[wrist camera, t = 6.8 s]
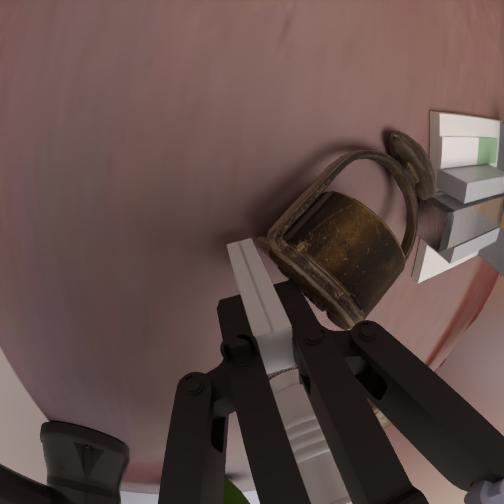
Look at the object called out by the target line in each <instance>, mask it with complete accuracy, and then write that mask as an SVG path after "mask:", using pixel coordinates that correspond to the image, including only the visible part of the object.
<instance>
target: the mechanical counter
mask: <svg viewBox="0 0 504 504" xmlns="http://www.w3.org/2000/svg"><path fill="white" fill-rule="evenodd" d="M389 150H390V153H391V156H392V157H391V156H389V155H388V154H385V153H382V152H379V151H375V150H358V151H352V152H350V153H347V154H345V155H343V156H341V157H340V158H339V159H337V160H336V161H335V162H333V163H332V164H331V165H329V166H328V167H327V168H326V169H325V170H324V172H323V173H322V174H321V175H320V176H319V177H318V178H317V179H316V180H315V182H314V183H313V184H312V185H311V186H310V187H309V188H308V189H307V190H306V191H305V192H304V193H303V194H302V195H301V196H300V197H299V198H298V199H297V200H296V201H295V202H294V203H293V204H292V205H291V206H290V207H289V208H288V209H287V210H286V212H285V213H284V214H283V215H282V216H281V217H280V218H279V219H278V220H277V221H276V222H275V223H274V224H273V226H272V227H271V228H270V229H269V230H268V234H267V237H265V236H260V237H258V238H257V241H256V243H257V244H258V246H259V247H260V248H261V249H262V250H263V251H264V252H265V253H266V254H267V255H268V256H269V257H270V258H271V259H272V260H273V262H274V263H275V264H276V265H277V266H278V269H279V270H280V271H281V273H282V274H283V275H284V276H286V277H287V278H288V279H289V280H291V281H292V282H294V283H295V284H297V285H298V286H299V288H300V290H301V291H302V292H303V294H304V295H305V296H306V297H307V298H309V300H310V301H311V302H312V303H313V304H315V306H316V307H317V308H318V309H320V310H321V311H322V312H323V311H324V310H325V311H326V312H327V313H326V314H327V317H328V318H329V320H330V321H332V322H333V323H334V324H335V325H336V326H338V327H340V328H341V329H344V330H347V329H351V330H352V327H353V326H354V325H355V324H356V323H358V322H360V321H364V320H365V318H366V317H367V315H368V314H369V313H370V312H371V311H372V309H373V308H374V307H375V306H376V305H377V303H378V302H379V301H380V300H381V298H382V297H383V296H384V294H385V293H386V292H387V291H388V289H389V288H390V287H391V286H392V284H393V283H394V282H395V280H396V279H397V278H398V276H399V275H400V274H401V272H402V271H403V270H404V266H405V263H406V261H407V260H408V258H409V255H410V253H411V251H412V249H413V245H414V242H415V238H416V234H417V229H418V222H419V210H418V202H417V197H416V196H418V197H419V198H420V199H422V200H427V199H430V197H431V196H432V195H433V194H434V189H435V174H434V170H433V166H432V163H431V161H430V159H429V157H428V156H427V154H426V152H425V151H424V149H423V148H422V146H421V145H420V144H418V143H417V142H416V141H415V140H413V139H412V138H411V137H409V136H408V135H406V134H404V133H401V132H399V131H398V132H393V133H392V134H391V135H390V139H389ZM357 159H370V160H374V161H377V162H378V163H380V164H382V165H384V166H385V167H386V168H387V169H388V170H389V171H390V172H391V173H392V174H393V176H394V178H395V180H396V182H397V184H398V186H399V187H400V189H401V191H402V193H403V195H404V199H405V202H406V210H407V224H406V230H405V234H404V238H403V241H402V245H400V244H399V242H398V240H397V239H396V237H395V236H394V234H393V233H392V231H391V230H390V229H389V227H388V226H387V225H386V224H385V223H384V222H383V221H382V220H381V219H380V218H379V217H378V216H377V215H376V214H375V213H374V212H373V211H372V210H370V209H369V208H368V207H366V206H365V205H363V204H362V203H361V202H359V201H358V200H356V199H354V198H351V197H349V196H346V195H344V194H342V193H338V192H334V191H331V192H325V193H322V192H323V191H324V190H325V188H326V187H327V186H328V185H329V184H330V183H331V182H332V181H333V180H334V179H335V177H336V176H337V175H338V174H339V173H340V172H341V171H342V170H343V169H344V168H345V167H346V166H347V165H348V164H350V163H351V162H352V161H354V160H357ZM321 193H322V194H321ZM320 194H321V195H320ZM319 195H320V196H319Z"/></svg>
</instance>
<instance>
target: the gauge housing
mask: <svg viewBox="0 0 504 504" xmlns="http://www.w3.org/2000/svg"><path fill="white" fill-rule="evenodd" d="M429 159H430V161H431V163H432V166H433V170H434V174H435V189H434V194H435V193H439V192H445V193H447V194H449V195H450V196H452V197H454V198H456V199H457V200H459V201H461V202H462V203H464V204H465V203H468V202H472V201H475V200H479V199H482V198H486V197H489V196H493V195H496V194H500V193H504V122H503V121H500V120H496V119H490V118H484V117H478V116H472V115H464V114H456V113H447V112H436V111H430V153H429ZM476 255H479V256H480V257H482V258H483V259H484V260H485V261H486V262H488V263H489V264H490V265H491V266H492V267H494V268H495V269H496V270H497V271H498V272H499V273H500V274H501V275H503V276H504V229H503V228H502V227H500V226H498V227H496V228H494V229H491V230H489V231H487V232H485V233H483V234H480V235H478V236H476V237H474V238H472V239H469V240H467V241H465V242H462V243H460V244H458V245H455V246H453V247H451V248H448V249H446V250H443V251H441V252H437V251H436V250H435V249H434V248H433V247H431V246H430V245H429V244H428V243H426V242H425V241H424V240H423V239H421V238H420V241H419V246H418V251H417V256H416V261H415V265H414V270H413V274H412V278H413V279H414V280H415V281H416V282H417V283H420V282H422V281H424V280H426V279H429V278H431V277H433V276H435V275H437V274H439V273H442V272H444V271H446V270H448V269H450V268H452V267H454V266H456V265H458V264H460V263H462V262H464V261H466V260H468V259H470V258H472V257H474V256H476Z"/></svg>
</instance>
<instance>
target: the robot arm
mask: <svg viewBox="0 0 504 504" xmlns="http://www.w3.org/2000/svg"><path fill="white" fill-rule="evenodd" d="M226 245H227V249H228V253H229V257H230V261H231V265H232V269H233V273H234V277H235V281H236V284H237V288H238V291H239V295H236V296H232V297H229V298H225V299H221V300H219V303H218V306H217V312H218V317H219V323H220V328H221V333H222V338H223V342H222V343H221V348H220V351H221V353H222V356H223V358H224V359H223V361H222V363H221V364H220V365H219V366H218V367H216V368H215V369H213V370H212V371H210V372H208V373H206V374H204V373H201V372H192V373H189V374H187V375H185V376H184V377H183V378H182V379H181V380H180V381H179V383H178V386H177V390H176V395H175V400H174V405H173V411H172V416H171V422H170V427H169V433H168V439H167V445H166V451H165V457H164V464H163V470H162V477H161V484H160V492H159V500H158V504H223V497H224V480H225V463H226V448H227V432H228V418H229V414H231V413H232V412H234V411H236V412H237V417H238V421H239V425H240V429H241V434H242V438H243V442H244V446H245V450H246V454H247V458H248V461H249V465H250V469H251V473H252V476H253V480H254V484H255V487H256V491H257V494H258V498H259V501H260V504H311V502H310V499H309V496H308V493H307V491H306V488H305V485H304V482H303V480H302V477H301V474H300V471H299V468H298V465H297V462H296V460H295V457H294V454H293V451H292V448H291V445H290V442H289V439H288V436H287V433H286V430H285V428H284V425H283V422H282V419H281V416H280V413H279V410H278V407H277V404H276V400H275V397H274V394H273V391H272V388H271V385H270V382H269V379H268V376H267V374H270V373H273V372H277V371H280V370H283V369H287V368H290V367H293V366H295V363H296V365H297V368H298V371H299V383H300V385H301V384H303V387H304V389H305V392H306V394H307V396H308V399H309V401H310V404H311V406H312V408H313V411H314V413H315V416H316V418H317V420H318V423H319V425H320V427H321V430H322V432H323V435H324V437H325V439H326V442H327V444H328V447H329V449H330V451H331V454H332V456H333V458H334V461H335V463H336V466H337V468H338V470H339V473H340V475H341V477H342V480H343V482H344V485H345V487H346V489H347V492H348V494H349V496H350V499H351V501H352V503H353V504H429V503H428V501H427V499H426V497H425V496H424V494H423V493H422V492H421V491H420V490H418V489H417V488H415V487H414V486H413V485H412V484H411V482H410V481H409V479H408V476H407V475H406V472H405V471H404V469H403V466H402V465H401V463H400V461H399V459H398V457H397V455H396V453H395V451H394V449H393V447H392V445H391V443H390V441H389V439H388V437H387V436H386V433H385V432H384V430H383V428H382V426H381V424H380V422H379V420H378V418H377V416H376V415H375V413H374V411H373V409H372V407H371V405H370V403H369V402H368V400H367V398H368V399H369V400H370V401H371V402H372V403H373V404H374V405H375V406H376V407H377V408H378V409H379V410H380V411H381V412H382V413H383V414H384V415H385V417H386V418H387V419H388V420H389V421H390V422H391V423H392V424H393V425H394V426H395V427H396V428H397V429H398V430H399V431H400V432H401V433H402V434H403V435H404V436H405V437H406V438H407V439H408V440H409V441H410V442H411V443H412V444H413V445H414V446H415V448H416V449H418V451H419V452H420V453H421V454H422V455H423V456H424V457H425V458H426V459H427V460H428V461H429V462H430V463H431V464H432V465H433V466H434V467H435V468H436V469H437V470H438V471H439V472H440V473H441V474H442V475H443V476H444V477H445V478H446V479H447V480H448V481H450V482H451V483H452V484H453V485H455V486H457V487H458V488H460V489H462V490H464V491H467V492H468V493H467V494H466V495H465V498H464V502H465V504H504V436H503V435H502V434H501V433H500V432H499V431H498V430H496V429H495V428H494V427H493V426H492V425H491V424H490V423H489V422H488V421H487V420H486V419H485V418H484V417H483V416H482V415H481V414H479V413H478V412H477V411H476V410H475V409H474V408H473V407H472V406H471V405H470V404H469V403H468V402H467V401H466V400H464V399H463V398H462V397H461V396H460V395H459V394H458V393H457V392H455V390H453V389H452V388H451V387H450V386H449V385H448V384H447V383H446V382H445V381H444V380H442V379H441V378H440V377H439V376H438V375H437V374H436V373H435V372H433V371H432V370H431V369H430V368H429V367H428V366H427V365H425V364H424V363H423V362H422V361H421V360H420V359H419V358H418V357H416V356H415V355H414V354H413V353H412V352H411V351H409V350H408V349H407V348H406V347H405V346H404V345H403V344H401V343H400V342H399V341H398V340H397V339H396V338H394V337H393V336H392V335H391V334H390V333H389V332H387V331H386V330H385V329H384V328H383V327H382V326H380V325H379V324H377V323H376V322H374V321H369V320H365V321H360V322H358V323H356V324H355V325H354V326H353V327H352V330H346V331H332V330H328V329H327V328H325V327H323V326H322V325H321V324H320V323H319V322H318V320H317V318H316V316H315V314H314V313H313V311H312V309H311V307H310V306H309V304H308V302H307V300H306V298H305V297H304V295H303V294H302V291H301V290H300V288H299V286H298V285H297V284H295V283H294V282H292V281H291V280H288V281H284V282H281V283H277V284H274V285H273V284H272V282H271V280H270V278H269V276H268V273H267V271H266V269H265V267H264V265H263V263H262V260H261V258H260V256H259V254H258V252H257V250H256V247H255V245H254V243H253V241H252V239H251V238H249V239H245V240H241V241H237V242H233V243H230V244H226ZM366 397H367V398H366ZM40 439H41V442H42V444H43V451H44V457H45V462H46V467H47V485H44V484H42V483H39V482H37V481H34V480H32V479H30V478H28V477H26V476H23V475H21V474H19V473H17V472H15V471H13V470H11V469H9V468H7V467H5V466H4V465H1V464H0V504H121V498H120V488H121V485H122V482H123V479H124V476H125V473H126V470H127V466H128V464H129V448H128V447H127V446H126V445H125V444H123V443H122V442H120V441H118V440H116V439H114V438H112V437H110V436H107V435H105V434H102V433H99V432H96V431H93V430H90V429H87V428H83V427H79V426H75V425H71V424H66V423H60V422H45V423H43V424H42V426H41V432H40Z"/></svg>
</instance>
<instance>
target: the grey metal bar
mask: <svg viewBox="0 0 504 504" xmlns="http://www.w3.org/2000/svg"><path fill="white" fill-rule="evenodd" d="M418 210H419V222H418V229H417V234H416V235H417V236H419V237H420V238H421V239H423V240H424V241H425V242H426V243H428V244H429V245H430V246H431V247H433V248H434V249H435V250H436V251H437V252H441V251H443V250H446V249H448V248H451V247H453V246H455V245H458V244H460V243H462V242H465V241H467V240H469V239H472V238H474V237H476V236H478V235H480V234H483V233H485V232H487V231H489V230H491V229H494V228H496V227H498V226H500V227H502V228H503V229H504V193H500V194H496V195H493V196H489V197H486V198H482V199H479V200H475V201H472V202H468V203H465V204H464V203H462V202H461V201H459V200H457V199H456V198H454V197H452V196H450V195H449V194H447V193H445V192H439V193H435V194H433V195H432V196H431V197H430V199H427V200H422V199H420V198H419V207H418Z"/></svg>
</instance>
